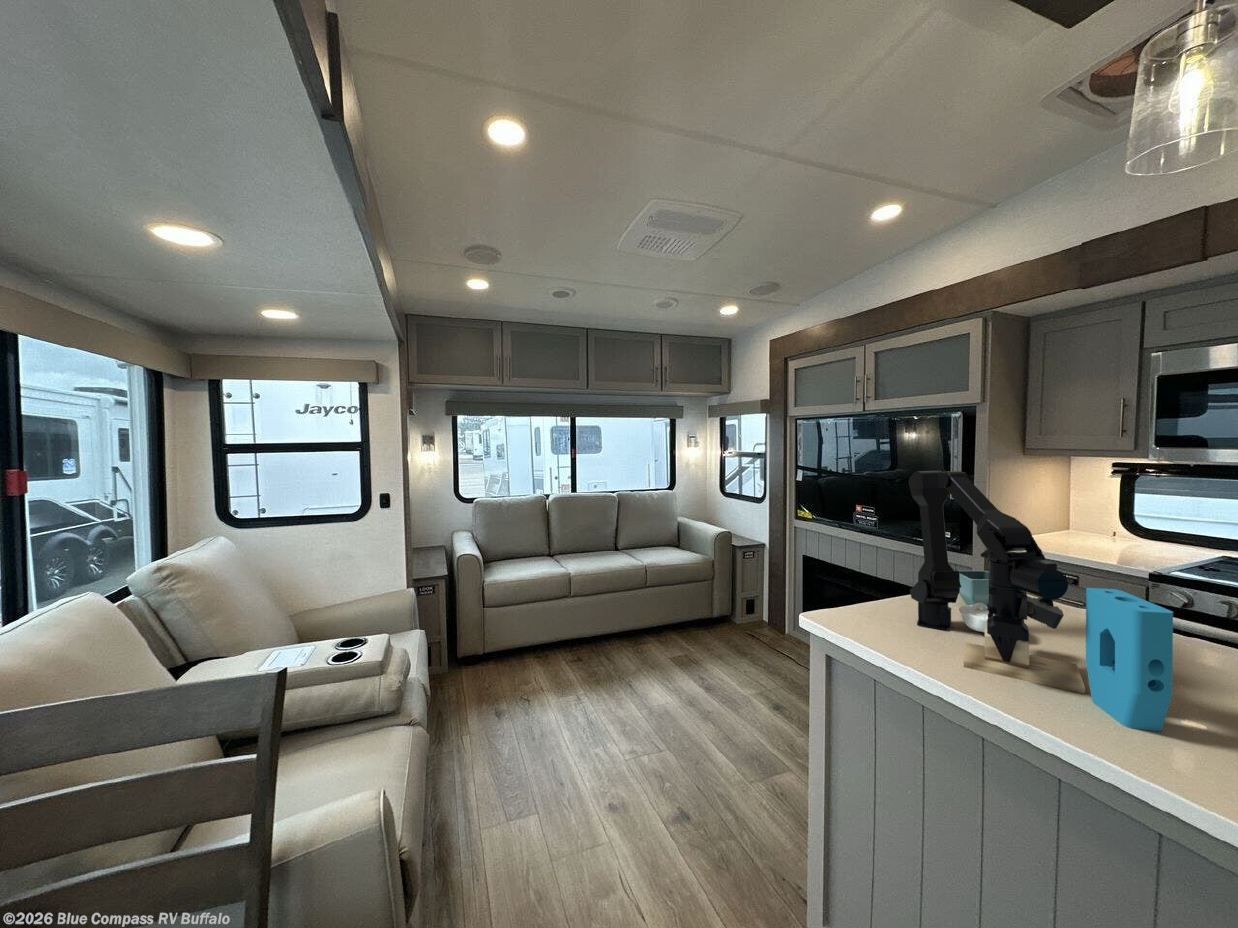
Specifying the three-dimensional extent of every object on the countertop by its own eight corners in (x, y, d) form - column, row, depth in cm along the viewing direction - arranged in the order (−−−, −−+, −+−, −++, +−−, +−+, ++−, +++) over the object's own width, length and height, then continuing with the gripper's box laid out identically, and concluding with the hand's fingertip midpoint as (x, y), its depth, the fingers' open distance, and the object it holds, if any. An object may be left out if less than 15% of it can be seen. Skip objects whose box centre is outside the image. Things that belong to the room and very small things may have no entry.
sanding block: (984, 658, 96) (984, 635, 96) (984, 650, 100) (984, 628, 100) (1029, 668, 92) (1029, 643, 92) (1027, 659, 95) (1027, 635, 95)
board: (963, 666, 96) (963, 660, 96) (965, 647, 105) (965, 642, 105) (1085, 693, 85) (1085, 687, 85) (1076, 669, 93) (1076, 663, 93)
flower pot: (971, 611, 126) (970, 579, 125) (953, 600, 134) (953, 570, 134) (1007, 612, 124) (1007, 579, 124) (986, 601, 133) (986, 570, 133)
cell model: (991, 645, 105) (990, 616, 105) (948, 624, 117) (948, 598, 117) (1030, 641, 106) (1030, 613, 106) (984, 622, 118) (984, 596, 118)
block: (1082, 694, 85) (1083, 587, 84) (1116, 697, 83) (1117, 589, 82) (1134, 734, 73) (1135, 611, 72) (1175, 738, 72) (1177, 613, 71)
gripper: (1065, 604, 83) (1065, 688, 84) (1054, 578, 97) (1054, 650, 98) (987, 593, 90) (987, 670, 91) (987, 570, 104) (987, 637, 105)
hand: (1006, 656), depth 96 cm, fingers closed on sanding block, 4 cm apart
